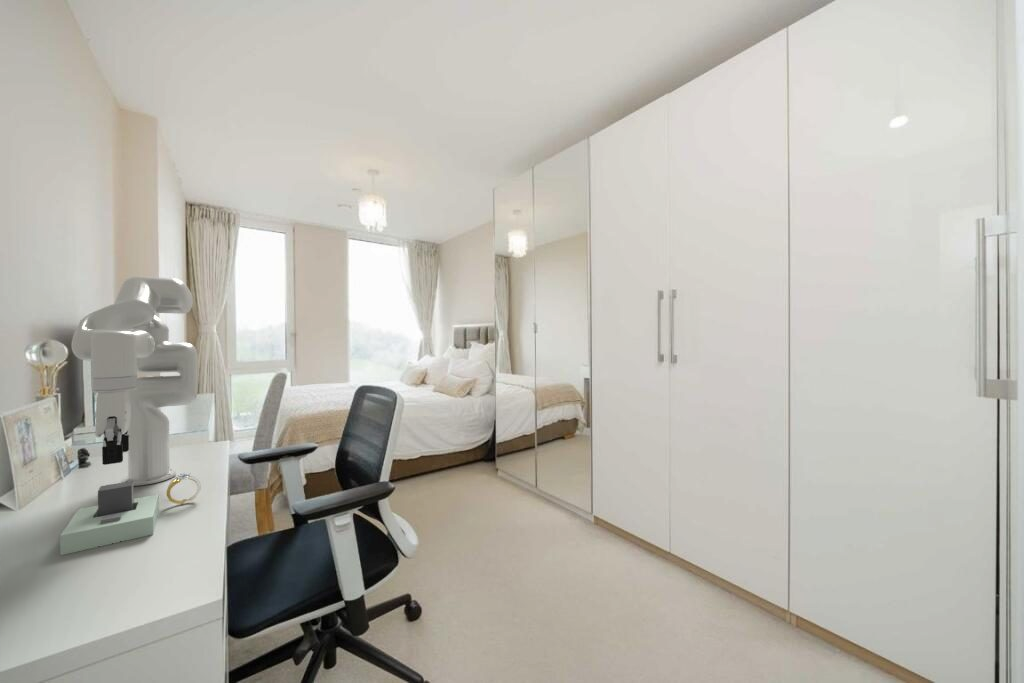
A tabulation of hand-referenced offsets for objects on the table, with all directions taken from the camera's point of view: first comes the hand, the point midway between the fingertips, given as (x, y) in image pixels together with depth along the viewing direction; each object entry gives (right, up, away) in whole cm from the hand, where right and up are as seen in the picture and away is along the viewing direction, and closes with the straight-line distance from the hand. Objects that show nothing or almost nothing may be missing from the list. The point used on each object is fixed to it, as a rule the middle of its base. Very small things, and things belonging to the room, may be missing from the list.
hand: (116, 457), depth 94 cm
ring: (+5, -16, +13) cm, 21 cm away
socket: (+2, -16, -2) cm, 16 cm away
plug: (0, -16, 0) cm, 16 cm away
